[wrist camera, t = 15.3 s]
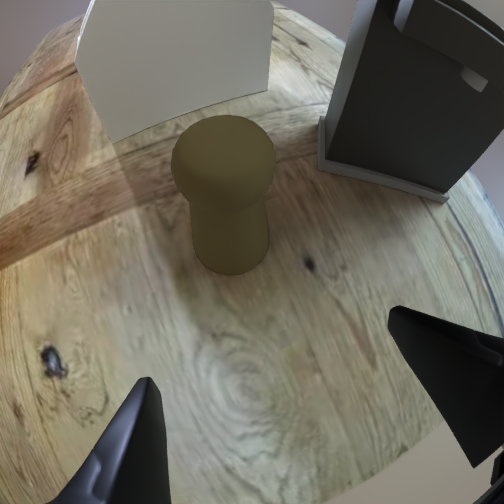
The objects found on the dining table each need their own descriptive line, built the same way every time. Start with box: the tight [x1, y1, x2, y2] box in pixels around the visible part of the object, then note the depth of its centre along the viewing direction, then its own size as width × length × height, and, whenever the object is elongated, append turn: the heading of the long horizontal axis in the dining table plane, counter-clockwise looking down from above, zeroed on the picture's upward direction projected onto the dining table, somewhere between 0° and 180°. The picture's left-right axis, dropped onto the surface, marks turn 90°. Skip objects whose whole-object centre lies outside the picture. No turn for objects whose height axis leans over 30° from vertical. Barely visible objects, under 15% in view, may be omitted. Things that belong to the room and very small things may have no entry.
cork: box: [171, 115, 277, 275], centre depth 17 cm, size 6×6×11 cm
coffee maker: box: [317, 0, 504, 204], centre depth 16 cm, size 10×15×20 cm, turn 80°
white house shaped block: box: [74, 0, 274, 144], centre depth 18 cm, size 19×15×25 cm
